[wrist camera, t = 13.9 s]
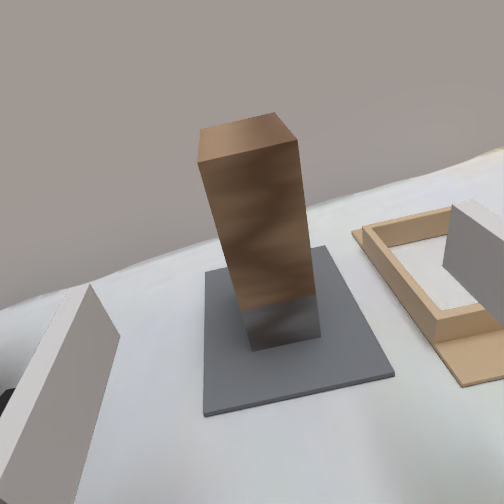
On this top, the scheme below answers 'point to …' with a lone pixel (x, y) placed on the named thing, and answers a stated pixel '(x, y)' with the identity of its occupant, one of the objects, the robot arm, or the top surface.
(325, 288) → the mat
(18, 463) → the robot arm
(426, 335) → the carton
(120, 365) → the top surface
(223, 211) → the walnut box
